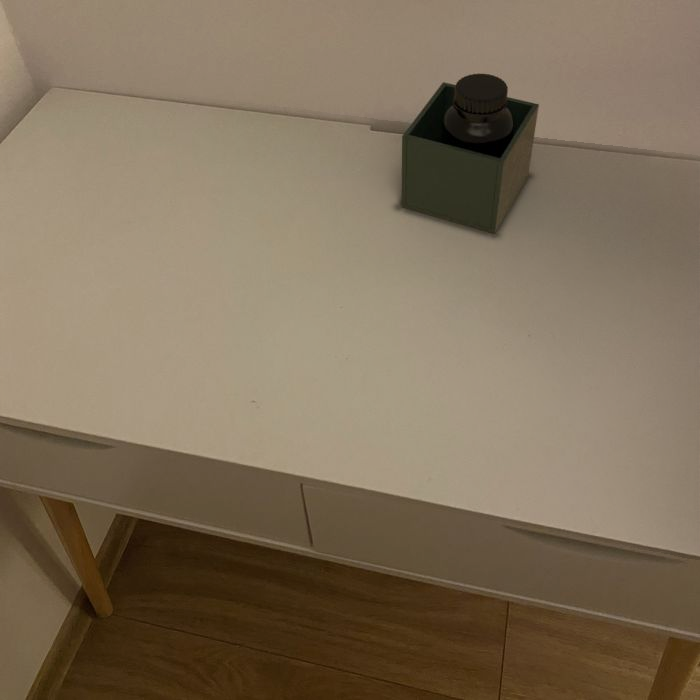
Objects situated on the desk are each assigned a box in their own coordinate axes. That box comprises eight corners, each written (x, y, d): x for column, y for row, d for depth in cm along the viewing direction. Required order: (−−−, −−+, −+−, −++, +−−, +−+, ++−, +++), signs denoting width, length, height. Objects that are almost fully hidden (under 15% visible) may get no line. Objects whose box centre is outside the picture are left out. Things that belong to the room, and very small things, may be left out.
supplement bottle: (517, 204, 82) (533, 98, 73) (454, 221, 81) (462, 115, 72) (487, 165, 86) (498, 60, 77) (427, 180, 85) (431, 76, 76)
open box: (528, 175, 86) (539, 104, 79) (494, 233, 80) (503, 162, 74) (439, 152, 89) (442, 81, 83) (401, 206, 83) (401, 136, 77)
